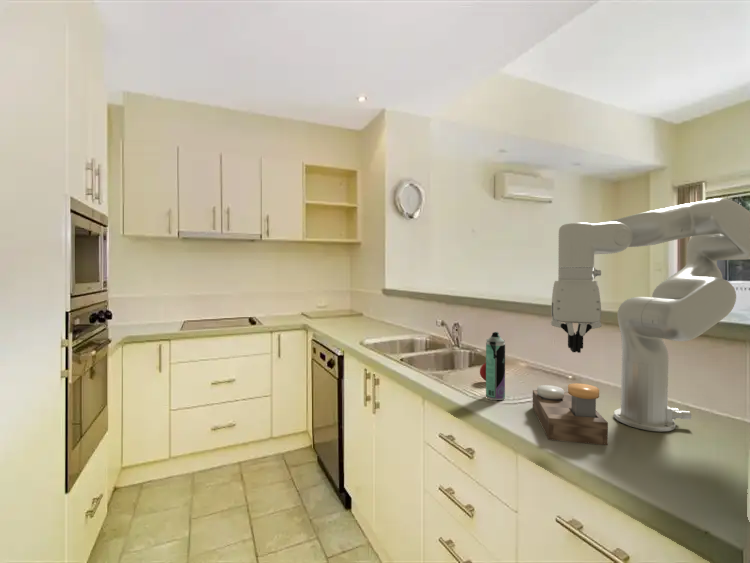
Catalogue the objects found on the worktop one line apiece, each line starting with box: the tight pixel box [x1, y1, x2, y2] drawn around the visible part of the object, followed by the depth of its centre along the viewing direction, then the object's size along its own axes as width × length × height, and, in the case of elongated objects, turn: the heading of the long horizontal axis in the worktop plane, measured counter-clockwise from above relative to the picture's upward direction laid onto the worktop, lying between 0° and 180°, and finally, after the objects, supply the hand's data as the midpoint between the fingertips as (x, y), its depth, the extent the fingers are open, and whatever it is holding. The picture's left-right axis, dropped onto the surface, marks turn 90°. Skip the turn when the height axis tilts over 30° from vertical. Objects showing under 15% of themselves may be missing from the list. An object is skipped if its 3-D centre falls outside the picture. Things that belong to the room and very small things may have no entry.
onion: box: [479, 362, 486, 382], centre depth 126 cm, size 6×6×8 cm
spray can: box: [485, 331, 506, 401], centre depth 111 cm, size 6×6×20 cm
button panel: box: [532, 389, 609, 446], centre depth 92 cm, size 12×20×5 cm, turn 166°
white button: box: [536, 384, 565, 401], centre depth 97 cm, size 6×6×7 cm
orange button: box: [567, 382, 600, 418], centre depth 86 cm, size 6×6×7 cm
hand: (575, 351), depth 88 cm, fingers closed
